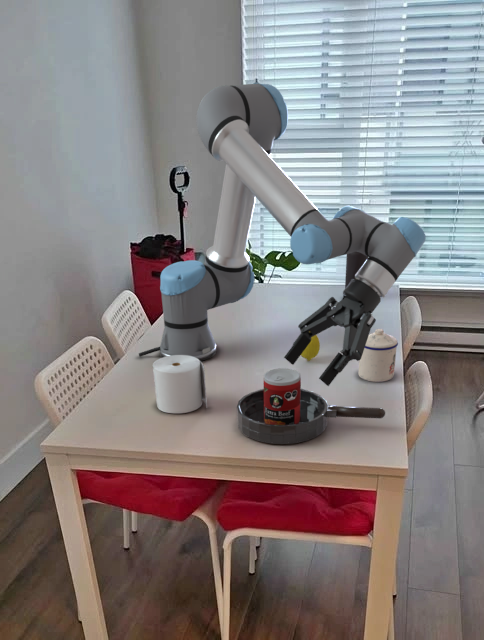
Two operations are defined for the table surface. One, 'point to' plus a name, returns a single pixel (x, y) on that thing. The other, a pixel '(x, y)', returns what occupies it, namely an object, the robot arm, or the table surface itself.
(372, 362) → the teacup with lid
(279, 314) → the table surface
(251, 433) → the frying pan
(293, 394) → the canned food
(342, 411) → the pan handle
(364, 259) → the bottle
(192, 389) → the toilet tissue
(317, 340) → the lemon
